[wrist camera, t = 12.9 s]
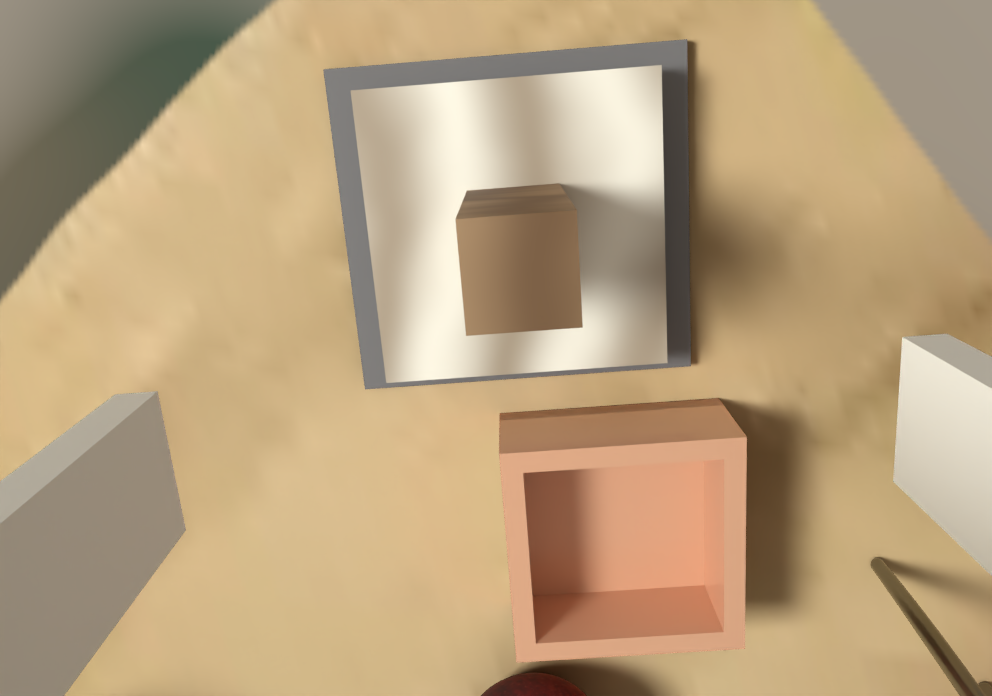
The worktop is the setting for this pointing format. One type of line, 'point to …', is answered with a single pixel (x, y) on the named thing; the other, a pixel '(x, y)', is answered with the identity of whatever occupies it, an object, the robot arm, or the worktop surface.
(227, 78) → the worktop surface
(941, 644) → the juicer
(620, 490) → the dish
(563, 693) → the apple
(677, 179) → the mat
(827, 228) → the worktop surface
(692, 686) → the worktop surface
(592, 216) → the lid
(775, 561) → the worktop surface
